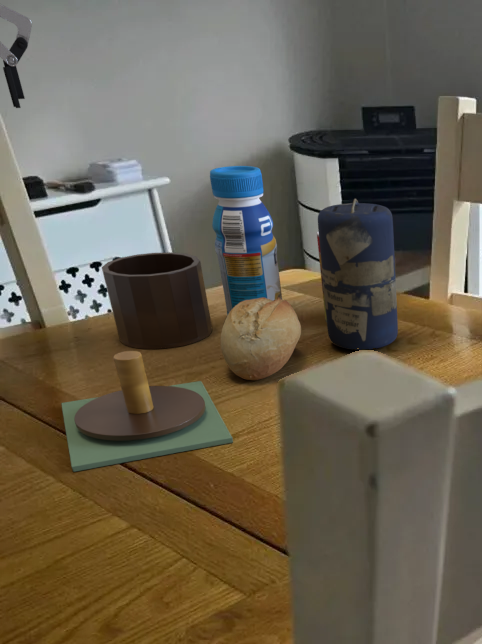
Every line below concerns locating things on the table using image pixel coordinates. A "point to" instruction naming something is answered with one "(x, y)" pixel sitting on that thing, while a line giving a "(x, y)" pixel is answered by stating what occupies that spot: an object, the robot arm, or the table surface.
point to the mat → (110, 452)
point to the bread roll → (259, 337)
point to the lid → (138, 406)
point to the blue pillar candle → (358, 274)
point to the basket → (158, 300)
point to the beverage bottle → (244, 236)
